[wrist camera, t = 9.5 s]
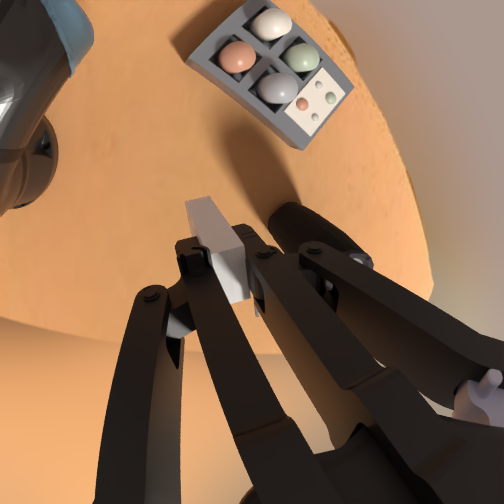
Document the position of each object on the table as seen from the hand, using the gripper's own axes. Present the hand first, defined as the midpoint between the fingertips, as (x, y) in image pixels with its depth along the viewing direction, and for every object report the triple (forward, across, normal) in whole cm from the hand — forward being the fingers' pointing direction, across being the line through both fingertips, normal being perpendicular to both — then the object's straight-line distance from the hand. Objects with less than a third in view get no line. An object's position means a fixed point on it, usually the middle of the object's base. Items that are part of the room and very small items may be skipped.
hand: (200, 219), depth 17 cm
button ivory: (+23, +15, +18) cm, 33 cm away
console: (+26, +17, +11) cm, 33 cm away
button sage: (+25, +20, +13) cm, 35 cm away
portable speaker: (+27, +18, -16) cm, 36 cm away
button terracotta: (+25, +10, +13) cm, 30 cm away
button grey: (+23, +15, +8) cm, 29 cm away
